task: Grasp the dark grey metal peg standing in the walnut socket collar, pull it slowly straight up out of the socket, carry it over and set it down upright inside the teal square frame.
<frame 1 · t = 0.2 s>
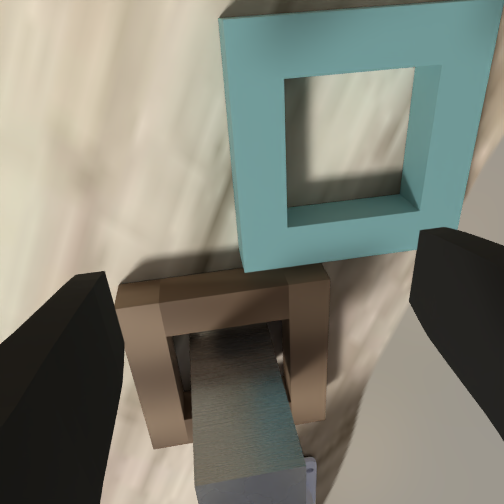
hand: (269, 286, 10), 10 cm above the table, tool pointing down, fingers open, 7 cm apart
peg: (239, 410, 20), in the socket block
teal square frame: (342, 138, 19), on the table
socket block: (229, 345, 24), on the table
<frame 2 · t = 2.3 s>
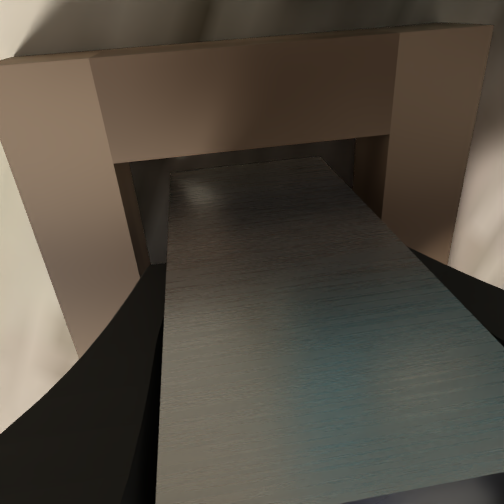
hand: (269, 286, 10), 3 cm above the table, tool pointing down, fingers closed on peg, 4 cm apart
peg: (284, 331, 8), in the socket block, touching gripper
socket block: (251, 231, 12), on the table
when the fingers open (4 cm above the table, at t = 7.8 s): peg drops 2 cm, resting in teal square frame.
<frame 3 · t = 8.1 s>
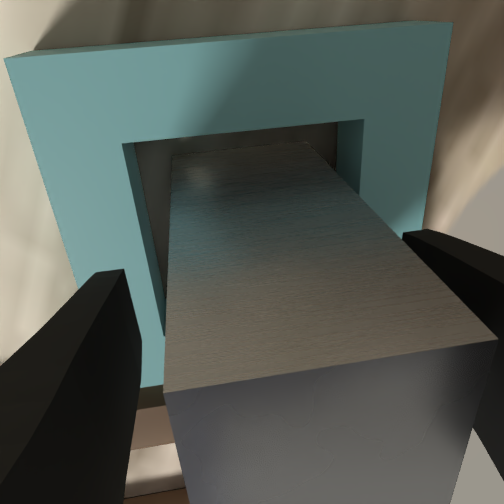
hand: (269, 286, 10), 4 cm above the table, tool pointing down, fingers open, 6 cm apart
peg: (271, 288, 10), in the teal square frame
teal square frame: (244, 209, 14), on the table
socket block: (126, 456, 19), on the table
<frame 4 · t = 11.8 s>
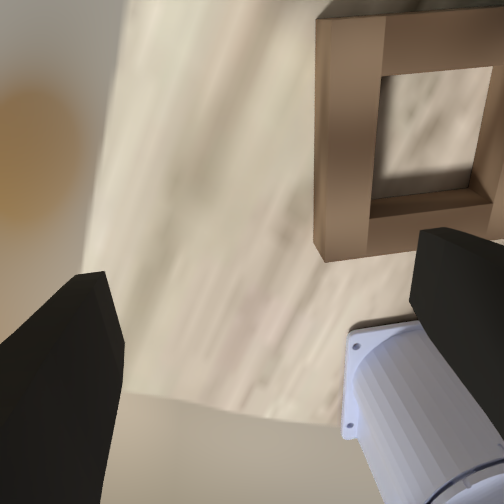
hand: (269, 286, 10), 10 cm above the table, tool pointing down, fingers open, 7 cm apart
socket block: (419, 134, 20), on the table
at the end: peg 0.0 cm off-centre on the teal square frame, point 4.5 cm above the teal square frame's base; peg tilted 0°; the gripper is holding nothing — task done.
